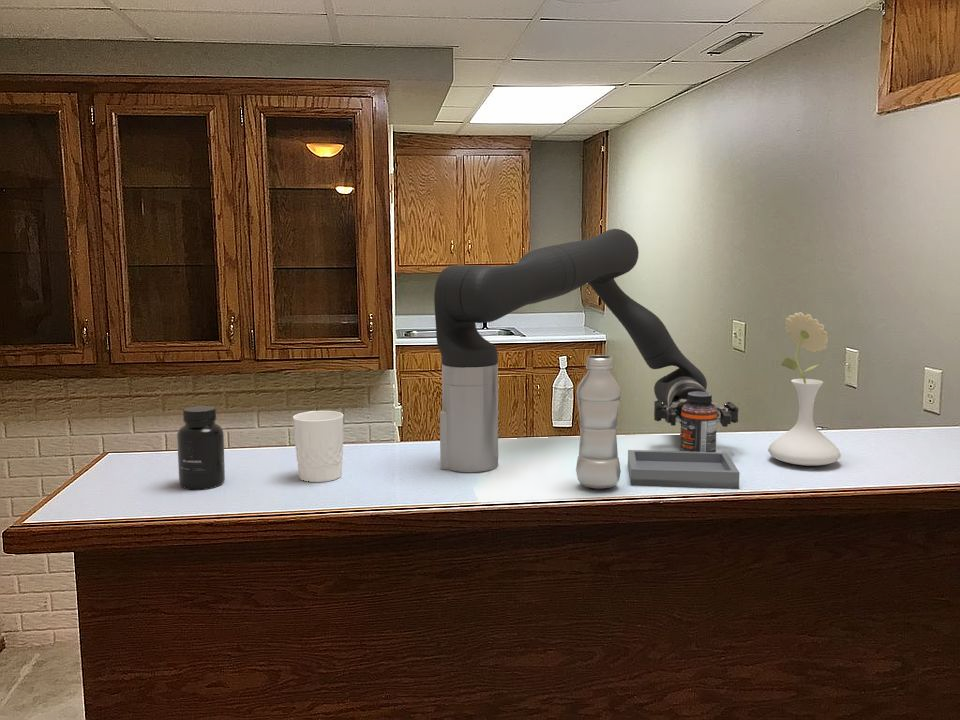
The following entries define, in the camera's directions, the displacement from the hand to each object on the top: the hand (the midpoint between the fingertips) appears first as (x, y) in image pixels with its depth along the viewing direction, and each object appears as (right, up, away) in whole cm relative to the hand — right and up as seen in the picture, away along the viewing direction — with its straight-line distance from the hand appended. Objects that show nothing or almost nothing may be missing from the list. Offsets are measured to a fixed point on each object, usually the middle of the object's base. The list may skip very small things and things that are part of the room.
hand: (699, 420), depth 140 cm
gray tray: (-5, -8, -8) cm, 13 cm away
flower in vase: (+17, -7, 0) cm, 19 cm away
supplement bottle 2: (0, -7, +3) cm, 7 cm away
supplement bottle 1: (-80, -9, -10) cm, 81 cm away
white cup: (-63, -9, -7) cm, 64 cm away
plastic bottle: (-19, -9, -14) cm, 25 cm away
